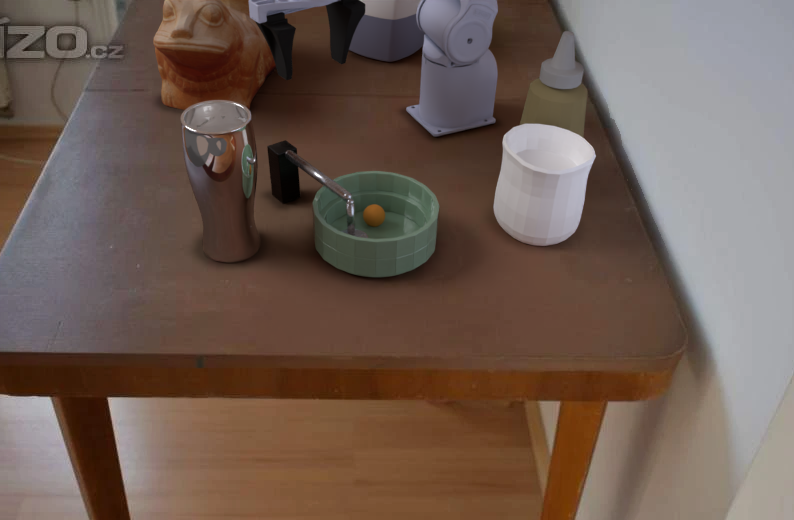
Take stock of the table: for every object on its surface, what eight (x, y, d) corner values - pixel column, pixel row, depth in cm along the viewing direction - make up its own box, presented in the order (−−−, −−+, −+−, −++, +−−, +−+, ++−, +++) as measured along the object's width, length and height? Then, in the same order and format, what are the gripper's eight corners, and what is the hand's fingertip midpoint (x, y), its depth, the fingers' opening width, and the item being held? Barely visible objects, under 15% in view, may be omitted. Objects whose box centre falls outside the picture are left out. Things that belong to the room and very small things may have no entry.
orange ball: (375, 233, 92) (387, 215, 92) (379, 228, 90) (391, 210, 90) (357, 220, 92) (369, 202, 92) (360, 215, 89) (372, 197, 90)
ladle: (375, 249, 88) (375, 196, 84) (347, 261, 86) (345, 207, 82) (294, 187, 98) (289, 136, 93) (267, 196, 96) (261, 145, 92)
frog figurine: (136, 122, 107) (114, 4, 97) (204, 40, 126) (191, -66, 116) (242, 135, 106) (230, 16, 96) (293, 49, 125) (288, -57, 115)
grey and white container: (311, 47, 126) (309, -30, 118) (372, 16, 135) (373, -57, 128) (395, 76, 120) (398, -3, 112) (452, 42, 129) (459, -33, 122)
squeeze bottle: (536, 155, 105) (561, 12, 93) (589, 182, 101) (622, 35, 89) (494, 178, 101) (514, 30, 88) (548, 206, 97) (576, 56, 84)
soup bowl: (400, 199, 97) (402, 160, 93) (457, 261, 88) (462, 222, 85) (295, 226, 92) (293, 187, 88) (346, 294, 84) (346, 254, 80)
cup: (560, 259, 89) (577, 180, 83) (475, 229, 93) (485, 151, 86) (590, 216, 96) (608, 139, 89) (510, 190, 99) (522, 114, 92)
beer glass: (207, 271, 85) (187, 139, 75) (191, 234, 90) (170, 105, 80) (273, 257, 87) (262, 127, 77) (254, 221, 92) (242, 94, 82)
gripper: (342, -74, 96) (342, 42, 105) (230, -51, 89) (241, 70, 98) (379, -56, 92) (376, 63, 101) (265, -31, 85) (273, 94, 94)
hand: (312, 68), depth 99 cm, fingers open, 7 cm apart
